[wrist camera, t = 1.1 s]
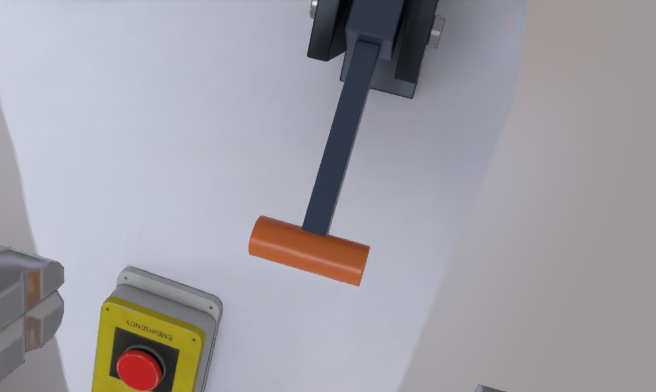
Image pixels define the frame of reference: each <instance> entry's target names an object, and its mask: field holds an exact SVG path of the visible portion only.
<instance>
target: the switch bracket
mask: <svg viewBox="0 0 656 392" xmlns="http://www.w3.org/2000/svg"><path fill="white" fill-rule="evenodd" d="M352 2H353V0H312V1H311V7H310V17H311V18H312V19H314V22H313V27H312V32H311V37H310V42H309V48H308V53H307V56H308V57H309V58H313V59H317V60H321V61H325V62H327V61H329V60H331V59H333V58H334V57H336V56H338V55H340V54H342V53H343V52H345V51H346V53H345V57H344V62H343V66H342V71H341V75H340V81H343V82H345V78H346V75H347V72H348V68H349V65H350V61H351V58H352V54H353V52H352V51H348V50H347V44H346V34H345V26H346V23H347V19H348V16H349V13H350V9H351V6H352ZM439 2H440V0H407V7H406V11H405V14H404V18H403V22H402V25H401V29H400V32H399V36H398V39H397V43H396V46H395V50H394V53H393V57H392V60H391V61H389V60H385V59H381V58H379V59H378V62H377V66H376V69H375V73H374V76H373V80H372V83H371V87H370V89H374V90H378V91H382V92H386V93H390V94H394V95H398V96H402V97H406V98H410V99H412V98H413V96H414V93H415V89H416V86H417V82H418V78H419V75H420V71H421V67H422V64H423V60H424V56H425V53H426V49H427V47H431V48H437V47H438V44H439V40H440V37H441V33H442V30H443V26H444V22H445V17H443V16H439V15H436V13H437V9H438V6H439Z"/></svg>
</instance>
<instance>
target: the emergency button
mask: <svg viewBox="0 0 656 392" xmlns="http://www.w3.org/2000/svg"><path fill="white" fill-rule="evenodd" d="M221 313H222V304H221V302H220V300H219V299H218V298H216V297H215V296H213V295H210V294H207V293H205V292H202V291H199V290H196V289H193V288H190V287H188V286H185V285H182V284H179V283H176V282H173V281H171V280H168V279H165V278H162V277H159V276H156V275H153V274H151V273H148V272H145V271H142V270H139V269H136V268H134V267H127V268H126V269H124V270H123V271H122V272H121V273H120V274H119V276H118V279H117V287H116V290H115V291H114V292H113V293H112V294H111V295H110V296H109V298H107V299H106V300H105V302H104V303H103V305H102V307H101V314H100V322H99V331H98V339H97V348H96V356H95V365H94V373H93V382H92V390H91V392H204V389H205V384H206V380H207V375H208V371H209V366H210V362H211V357H212V353H213V348H214V344H215V340H216V335H217V331H218V326H219V322H220V317H221Z"/></svg>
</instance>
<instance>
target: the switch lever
mask: <svg viewBox="0 0 656 392" xmlns="http://www.w3.org/2000/svg"><path fill="white" fill-rule="evenodd" d="M406 7H407V0H353V2H352V6H351V9H350V13H349V16H348V19H347V23H346V26H345V34H346V44H347V50H348V51H352V52H353V54H352V58H351V61H350V65H349V68H348V72H347V75H346V78H345V82H344V85H343V89H342V92H341V96H340V99H339V102H338V106H337V109H336V113H335V116H334V120H333V123H332V126H331V130H330V133H329V137H328V140H327V143H326V147H325V150H324V154H323V157H322V161H321V164H320V167H319V171H318V174H317V178H316V181H315V185H314V188H313V191H312V195H311V198H310V202H309V205H308V209H307V212H306V215H305V219H304V222H303V226H302V227H301V226H297V225H294V224H290V223H287V222H283V221H280V220H276V219H273V218H269V217H266V216H260V217H259V218H258V220H257V221H256V223H255V225H254V228H253V231H252V234H251V237H250V242H249V254H250V255H253V256H256V257H260V258H263V259H267V260H270V261H273V262H277V263H280V264H284V265H287V266H290V267H294V268H297V269H301V270H304V271H307V272H311V273H314V274H318V275H321V276H324V277H328V278H331V279H335V280H338V281H341V282H345V283H348V284H352V285H355V286H360V282H361V279H362V275H363V272H364V268H365V265H366V261H367V257H368V254H369V250H370V246H367V245H364V244H360V243H357V242H353V241H350V240H346V239H343V238H339V237H336V236H332V235H329V234H328V233H329V230H330V226H331V223H332V219H333V216H334V212H335V209H336V205H337V202H338V198H339V195H340V191H341V188H342V184H343V181H344V177H345V174H346V170H347V167H348V163H349V160H350V156H351V153H352V149H353V146H354V142H355V139H356V136H357V132H358V129H359V125H360V122H361V118H362V115H363V111H364V108H365V104H366V101H367V97H368V94H369V90H370V87H371V83H372V80H373V76H374V73H375V69H376V66H377V62H378V59H379V58H381V59H385V60H389V61H391V60H392V57H393V53H394V50H395V46H396V43H397V39H398V36H399V32H400V29H401V25H402V22H403V18H404V14H405V11H406Z"/></svg>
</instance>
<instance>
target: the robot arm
mask: <svg viewBox="0 0 656 392" xmlns="http://www.w3.org/2000/svg"><path fill="white" fill-rule="evenodd" d="M63 283H64V267H63V266H62V265H61V264H60V263H59V262H57V261H54V260H51V259H48V258H45V257H42V256H38V255H35V254H32V253H29V252H26V251H23V250H19V249H16V248H12V247H10V246H6V245H2V244H0V382H1V381H2V380H3V379H5V378H6V377H7V376H8V375H10V373H12V372H13V371H14V370H16V369H17V368H18V367H19V366H20V365H21V364H23V363H24V362H25V354H26V352H28V351H32V350H35V349H38V348H41V347H43V346H44V345H45V344H46V343H47V342H48V341H49V340H50V339H51V338H52V337H53V336H54V334H55V333H56V331H57V329H58V328H59V326H60V324H61V321H62V317H63V313H64V301H63V299H62V298H61V296H60V294H59V292H58V291H57V289H58V288H59V287H60V286H61V285H62V284H63ZM474 392H505V391H501V390H498V389H494V388H491V387H487V386H484V385H480V384H479V385H478V386H477V388H476V389H475V391H474Z"/></svg>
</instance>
